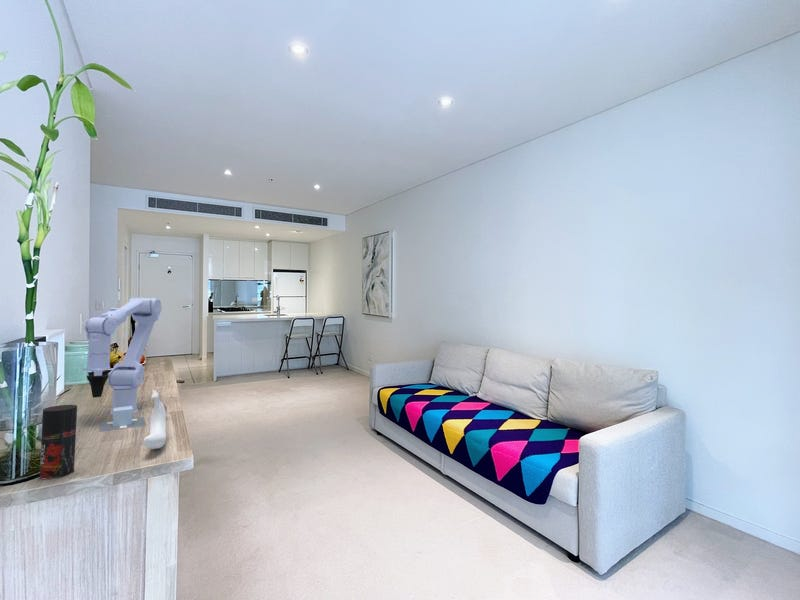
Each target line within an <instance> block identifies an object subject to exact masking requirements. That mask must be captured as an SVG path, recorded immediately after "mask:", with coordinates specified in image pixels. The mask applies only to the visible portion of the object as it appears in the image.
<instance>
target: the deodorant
mask: <svg viewBox="0 0 800 600" xmlns="http://www.w3.org/2000/svg"><path fill="white" fill-rule="evenodd" d="M77 418H78V405H76V404H62V405H61V404H60V405H53V406H48V407H45V408H43V409H42V419H41V421H42V424H41V436H40V437H41V441H40V443H41V444H40V456H39V457H40V459H39V475H40V477H41V478H47V479H46V480H51V479H50V478H54V479H58V478H62V477H65V476H68V475H70V474H73V473H74V472H75V460H76V459H75V457H76V439H77V438H76V437H77V420H78V419H77ZM40 477H39V478H40ZM41 478H40V479H41ZM48 478H49V479H48Z"/></svg>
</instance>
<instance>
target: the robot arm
mask: <svg viewBox="0 0 800 600" xmlns="http://www.w3.org/2000/svg"><path fill="white" fill-rule="evenodd" d="M162 309H163V307H162V303H161V300H160V299H159V298H158V297H152V298H151V297H133V296H132V297H131V298H130V299H128V301H127V303H125V304H124V305H123V306H122V307H111V308H109V310H108V311H106V312H104V313H101V314H100V315H99V316H98V317H97V316H96V317H91V318H89V319H88V320H86V322H85V325H84V331H85V333H86V338H87V340H88V347H87V348H88V349H87V351H88V352H87V366H84V367H82V370H83V371H89V372H87V375H86V380H87V381H88V382H89V385H90V388H91V389H90V390H91V394H92V398H101V397H102V396H103V393H104V388H105V384H106V382H107V384H108V386H109V387H110V389H112V405H111V406H112V408H110V415H111V416H113V408H117V407H126V406H132V408H133V413H137V412H139V410H138V407H137V405H138V403H137V401H138V400H137V399H138V388H139V387H140V386H141V384H142V383H143V382H144V378H145V377H144V376H145V371H146V369H145V366H143V364H141V360H142V357H143V355H144V353H145V350H146V347H147V344H148V342H149V339H150V336H151V334H152V331H153V329H154V326H155V322H157V321H159V320H158V319H159V316H160V314H161V311H162ZM129 316H131V317H132V320H133V321H135V322H137V325H136V327H135V329H134V332H133V335H132V338H131V340H130V342H129V345H128V348H127V350H126V353H125V356H124V358H123V360H121V361H119V362H117V363H115V364H114V365H113V368H112V369H111V365H110V362H111V360H110V359H111V342H112V340H111V339H112V335H113V334H114V333H115V331H116V329H117V328H118V326H120V325H121V324H123V323H125V322H126V321H127V318H128V317H129ZM110 369H111V371H109V370H110Z"/></svg>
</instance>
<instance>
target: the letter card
mask: <svg viewBox="0 0 800 600" xmlns="http://www.w3.org/2000/svg"><path fill="white" fill-rule="evenodd" d="M138 427H139V428H140V427H147V423H146V420H145V417H144V416H141V417H133V420H132V425H125V426H118V427H113V420H110V421H108V420H107V421H102V422H99V427H98V429H99V430H98V431H99V432H100V433H101V432H102V433H103V432H108V431H115V430H117V431H118V430H124V429H130V428H138Z"/></svg>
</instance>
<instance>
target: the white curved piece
mask: <svg viewBox="0 0 800 600" xmlns="http://www.w3.org/2000/svg"><path fill="white" fill-rule="evenodd" d="M151 392H152V394H151V399H153V402H154V408H153V407H152V411H151V416H150V421H149V434H148V436H146V437H144V438H143V440H142V442H143V446H144V447H145V448H147V449H150V450H157V449H161V448H162V447H164V445H165V443H166V442H167V441H166V440H167V410H166V411H165V407H164V405H163V402H162V401H161V400H160V396H159V393H158V392H157V391H156V390H155V389H152V390H151Z"/></svg>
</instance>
